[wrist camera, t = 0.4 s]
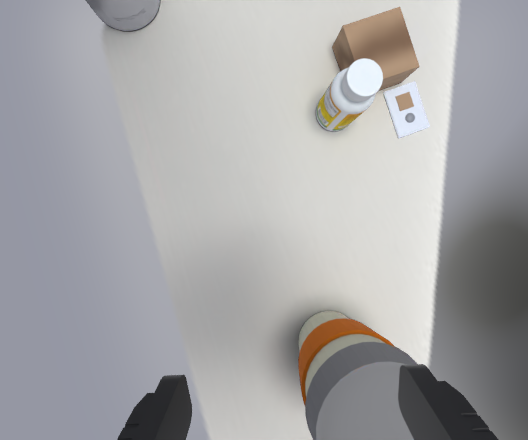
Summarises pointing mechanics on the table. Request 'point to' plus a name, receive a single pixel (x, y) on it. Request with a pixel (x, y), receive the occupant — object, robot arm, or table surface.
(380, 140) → the table surface
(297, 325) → the table surface
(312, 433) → the reusable coffee cup
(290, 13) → the table surface
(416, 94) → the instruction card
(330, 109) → the supplement bottle
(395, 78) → the walnut base block
